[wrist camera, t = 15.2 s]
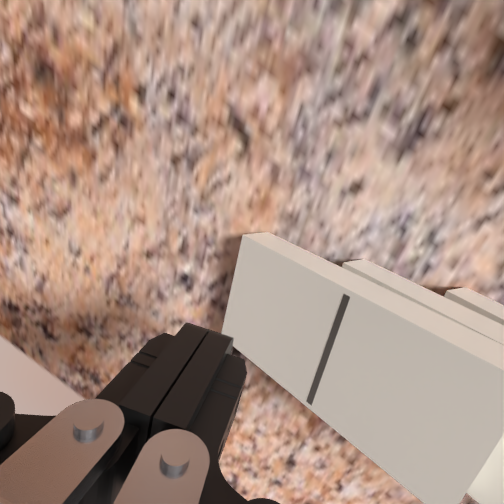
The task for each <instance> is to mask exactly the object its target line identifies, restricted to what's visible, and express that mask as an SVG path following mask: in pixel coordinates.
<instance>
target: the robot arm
mask: <svg viewBox="0 0 504 504" xmlns="http://www.w3.org/2000/svg"><path fill="white" fill-rule="evenodd" d="M233 341H234V338H233V337H230V336H227V335H224V334H221V333H218V332H215V331H212V330H211V331H210V330H208V329H205V328H202V327H199V326H196V325H193V324H190V323H185V324H184V326H183V327H182V328H181V329H180V331H179V332H178V333H177V334H176V335H175V336H173V335H170V334H167V333H163V334H161V335H159V336H157V337H155V338H153V339H151V340H149V341H148V342H147V343H146V345H145V346H144V347H143V348H142V349H141V350H140V351H139V353H137V354H136V355H135V356H134V357H133V358H132V360H131V362H130V363H128V364H127V365H126V366H125V367H124V368H123V369H122V370H121V371H120V372H119V373H118V375H117V376H116V377H115V378H114V379H113V380H112V381H111V382H110V383H109V384H108V385H107V386H106V387H105V389H104V390H103V391H102V392H101V393H100V394H99V395H98V396H97V397H96V398H95V399H88V400H83V401H79V402H76V403H74V404H72V405H70V406H68V407H67V408H65V409H64V410H63V411H61V412H60V413H59V414H58V415H57V416H39V415H25V414H15V404H14V401H13V400H12V398H11V397H10V396H9V395H7V394H5V393H3V392H0V504H280V503H278V502H276V501H273V500H270V499H265V498H257V499H252V500H250V501H247V500H246V499H244V498H243V497H242V496H241V495H240V494H239V493H237V492H236V491H235V490H234V489H233V488H232V487H231V486H230V485H229V484H228V483H227V481H226V480H225V478H224V477H223V475H222V473H221V470H220V467H219V463H218V462H219V460H220V457H221V454H222V451H223V448H224V446H225V443H226V440H227V437H228V435H229V432H230V429H231V426H232V423H233V421H234V418H235V415H236V412H237V408H238V405H239V401H240V397H241V393H242V390H243V386H244V382H245V379H246V375H247V371H246V366H245V361H244V359H241V358H238V357H235V356H232V355H230V354H231V350H232V346H233Z"/></svg>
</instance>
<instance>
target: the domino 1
mask: <svg viewBox="0 0 504 504" xmlns="http://www.w3.org/2000/svg"><path fill="white" fill-rule="evenodd" d="M221 334H224V335H227V336H230V337H233V338H234V341H233V347H235V348H236V349H237V350H238V351H240V352H241V353H242V354H243V355H244V356H246V357H247V358H248V359H249V360H250V361H252V362H253V363H254V364H255V365H257V366H258V367H259V368H260V369H261V370H263V371H264V372H265V373H266V374H267V375H269V376H270V377H271V378H272V379H274V380H275V381H276V382H277V383H278V384H280V385H281V386H282V387H283V388H284V389H286V390H287V391H288V392H289V393H291V394H292V395H293V396H294V397H295V398H297V399H298V400H299V401H300V402H301V403H303V404H304V405H305V406H306V407H308V408H309V409H310V410H311V411H312V412H314V413H315V414H316V415H317V416H318V417H320V418H321V419H322V420H323V421H325V422H326V423H327V424H328V425H329V426H331V427H332V428H333V429H334V430H335V431H337V432H338V433H339V434H340V435H342V436H343V437H344V438H345V439H346V440H348V441H349V442H350V443H351V444H352V445H354V446H355V447H356V448H357V449H359V450H360V451H361V452H362V453H363V454H365V455H366V456H367V457H368V458H369V459H371V460H372V461H373V462H374V463H376V464H377V465H378V466H379V467H380V468H382V469H383V470H384V471H385V472H386V473H388V474H389V475H390V476H391V477H393V478H394V479H395V480H396V481H397V482H399V483H400V484H401V485H402V486H403V487H405V488H406V489H407V490H408V491H410V492H411V493H412V494H413V495H414V496H416V497H417V498H418V499H419V500H420V501H422V502H423V503H424V504H460V502H461V500H462V499H463V497H464V496H465V494H466V492H467V491H468V489H469V488H470V486H471V485H472V483H473V481H474V480H475V478H476V477H477V475H478V474H479V472H480V470H481V469H482V467H483V466H484V464H485V462H486V461H487V459H488V458H489V456H490V455H491V453H492V451H493V450H494V448H495V447H496V445H497V444H498V442H499V440H500V439H501V437H502V436H503V434H504V345H502V344H500V343H498V342H495V341H493V340H491V339H489V338H487V337H485V336H483V335H481V334H479V333H477V332H475V331H473V330H471V329H468V328H466V327H464V326H462V325H460V324H458V323H456V322H454V321H452V320H450V319H448V318H446V317H444V316H442V315H439V314H437V313H435V312H433V311H431V310H429V309H427V308H425V307H423V306H421V305H419V304H417V303H415V302H412V301H410V300H408V299H406V298H404V297H402V296H400V295H398V294H396V293H394V292H392V291H390V290H388V289H385V288H383V287H381V286H379V285H377V284H375V283H373V282H371V281H369V280H367V279H365V278H363V277H361V276H359V275H356V274H354V273H352V272H350V271H348V270H346V269H344V268H342V267H340V266H338V265H336V264H334V263H332V262H329V261H327V260H325V259H323V258H321V257H319V256H317V255H315V254H313V253H311V252H309V251H307V250H305V249H302V248H300V247H298V246H296V245H294V244H292V243H290V242H288V241H286V240H284V239H282V238H280V237H278V236H276V235H273V234H271V233H269V232H262V233H253V234H244V235H243V236H242V240H241V245H240V250H239V254H238V259H237V263H236V268H235V273H234V277H233V282H232V286H231V291H230V295H229V300H228V305H227V309H226V314H225V318H224V323H223V328H222V332H221Z"/></svg>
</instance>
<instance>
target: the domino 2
mask: <svg viewBox="0 0 504 504" xmlns="http://www.w3.org/2000/svg"><path fill="white" fill-rule="evenodd" d="M342 268H344V269H346V270H348V271H350V272H352V273H354V274H356V275H359V276H361V277H363V278H365V279H367V280H369V281H371V282H373V283H375V284H377V285H379V286H381V287H383V288H385V289H388V290H390V291H392V292H394V293H396V294H398V295H400V296H402V297H404V298H406V299H408V300H410V301H412V302H415V303H417V304H419V305H421V306H423V307H425V308H427V309H429V310H431V311H433V312H435V313H437V314H439V315H442V316H444V317H446V318H448V319H450V320H452V321H454V322H456V323H458V324H460V325H462V326H464V327H466V328H468V329H471V330H473V331H475V332H477V333H479V334H481V335H483V336H485V337H487V338H489V339H491V340H493V341H495V342H498V343H500V344H502V345H504V325H502V324H500V323H498V322H495V321H493V320H491V319H489V318H487V317H485V316H483V315H481V314H479V313H477V312H475V311H472V310H470V309H468V308H466V307H464V306H462V305H460V304H458V303H456V302H454V301H452V300H449V299H447V298H445V297H443V296H441V295H439V294H437V293H435V292H433V291H431V290H429V289H426V288H424V287H422V286H420V285H418V284H416V283H414V282H412V281H410V280H408V279H406V278H403V277H401V276H399V275H397V274H395V273H393V272H391V271H389V270H387V269H385V268H383V267H380V266H378V265H376V264H374V263H372V262H370V261H368V260H366V259H361V260H355V261H349V262H344V263H343V265H342ZM466 493H467V494H468V495H470V496H471V497H472V498H473V499H474V500H476V501H477V502H478V503H479V504H504V434H503V436H502V437H501V439H500V440H499V442H498V444H497V445H496V447H495V448H494V450H493V451H492V453H491V455H490V456H489V458H488V459H487V461H486V462H485V464H484V466H483V467H482V469H481V470H480V472H479V474H478V475H477V477H476V478H475V480H474V481H473V483H472V485H471V486H470V488H469V489H468V491H467V492H466Z"/></svg>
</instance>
